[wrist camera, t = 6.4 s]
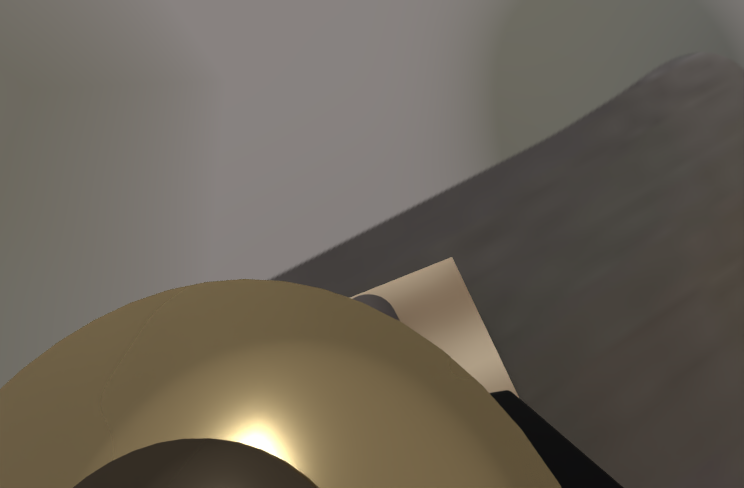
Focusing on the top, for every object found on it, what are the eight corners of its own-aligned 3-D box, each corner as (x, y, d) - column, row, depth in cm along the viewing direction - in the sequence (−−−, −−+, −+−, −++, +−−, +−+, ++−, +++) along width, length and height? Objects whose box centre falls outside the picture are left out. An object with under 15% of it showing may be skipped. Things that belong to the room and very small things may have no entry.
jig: (581, 554, 17) (616, 587, 13) (365, 635, 17) (337, 692, 13) (453, 278, 23) (451, 244, 19) (291, 343, 23) (255, 323, 19)
